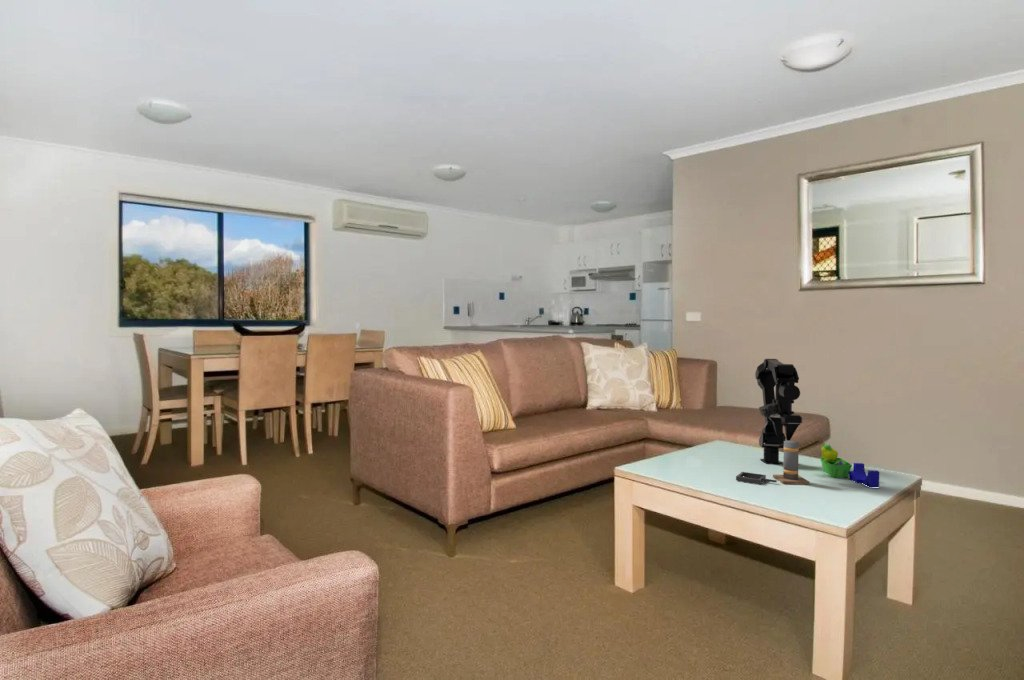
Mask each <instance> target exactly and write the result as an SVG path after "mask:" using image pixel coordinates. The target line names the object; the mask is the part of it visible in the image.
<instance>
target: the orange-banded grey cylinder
mask: <svg viewBox="0 0 1024 680" xmlns="http://www.w3.org/2000/svg"><path fill="white" fill-rule="evenodd" d="M799 445H800V442H799V441H796V440H790V441H787V440H785V441H784V448H783V466H782V467H783V468H782V469H783V470H782V473H783V474H782V475H783V478H785V479H790V480H797V479H798V475H799V456H800V455H799V453H800V452H799V451H800V450H799V449H800V446H799Z"/></svg>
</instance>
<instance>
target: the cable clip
mask: <svg viewBox="0 0 1024 680" xmlns="http://www.w3.org/2000/svg"><path fill="white" fill-rule="evenodd" d="M849 478H850V479H851V481H852V480H853V481H852V482H854V481H855V482H854V483H856V482H857V483H856V484H862V483H863V484H865V485H867V486H869V487H879V488H880V471H878V470H872V469H871V470H870V469H869V470H867V473H866V469H865V463H863V462H853V470H850V471H849V475H848V479H849ZM850 479H849V480H850ZM863 484H862V485H863ZM865 485H864V486H865ZM867 486H866V487H867ZM869 487H868V488H869Z"/></svg>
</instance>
